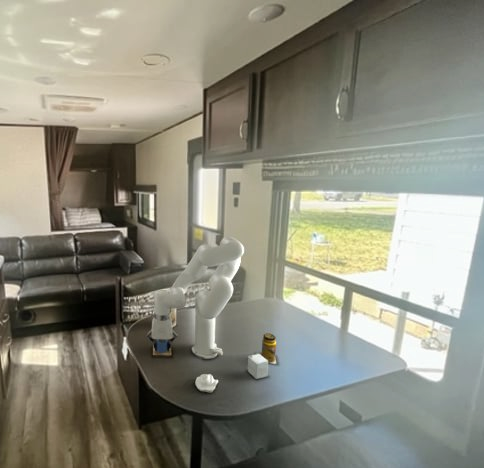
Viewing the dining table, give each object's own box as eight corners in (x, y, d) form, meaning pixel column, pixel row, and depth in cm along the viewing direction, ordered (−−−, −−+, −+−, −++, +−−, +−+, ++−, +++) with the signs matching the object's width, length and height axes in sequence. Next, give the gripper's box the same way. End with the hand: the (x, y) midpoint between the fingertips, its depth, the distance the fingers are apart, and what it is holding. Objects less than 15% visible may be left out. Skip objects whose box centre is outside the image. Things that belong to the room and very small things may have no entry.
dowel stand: (170, 347, 153) (170, 334, 152) (171, 357, 144) (171, 343, 143) (153, 346, 154) (153, 334, 152) (152, 357, 145) (152, 343, 144)
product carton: (267, 376, 129) (268, 361, 128) (255, 379, 127) (256, 363, 126) (258, 368, 135) (259, 353, 134) (247, 370, 133) (247, 355, 132)
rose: (223, 381, 120) (201, 385, 117) (223, 391, 120) (201, 395, 118) (212, 367, 129) (191, 370, 127) (212, 376, 130) (191, 379, 128)
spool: (169, 348, 150) (169, 339, 149) (164, 354, 145) (164, 344, 144) (160, 345, 153) (160, 336, 152) (154, 350, 148) (154, 341, 147)
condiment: (276, 364, 138) (278, 340, 135) (257, 361, 140) (258, 337, 138) (274, 355, 144) (276, 332, 142) (256, 353, 147) (257, 330, 145)
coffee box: (168, 331, 170) (168, 304, 167) (158, 328, 173) (158, 301, 171) (176, 325, 177) (176, 299, 174) (167, 322, 181) (167, 296, 178)
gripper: (144, 318, 142) (144, 353, 146) (180, 319, 142) (179, 354, 145) (144, 312, 150) (145, 345, 153) (179, 312, 149) (178, 345, 152)
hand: (162, 349), depth 149 cm, fingers closed on spool, 5 cm apart
